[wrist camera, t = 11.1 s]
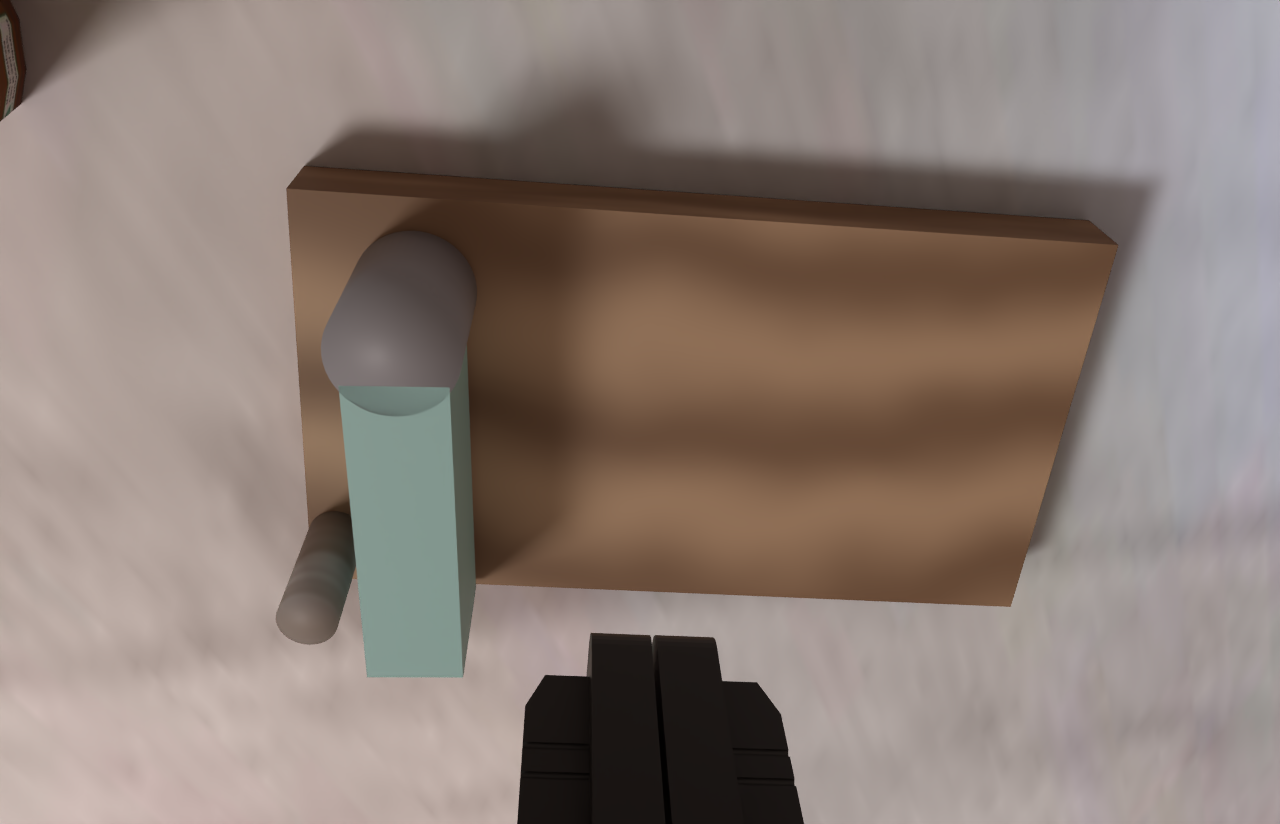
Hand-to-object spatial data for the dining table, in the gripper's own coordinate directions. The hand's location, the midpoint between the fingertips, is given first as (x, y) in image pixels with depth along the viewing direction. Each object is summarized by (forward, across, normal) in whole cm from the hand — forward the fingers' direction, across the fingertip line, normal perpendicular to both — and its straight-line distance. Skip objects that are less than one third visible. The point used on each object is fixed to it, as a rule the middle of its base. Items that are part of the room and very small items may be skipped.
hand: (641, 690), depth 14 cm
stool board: (+27, -4, +10) cm, 29 cm away
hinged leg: (+24, +6, +10) cm, 27 cm away
